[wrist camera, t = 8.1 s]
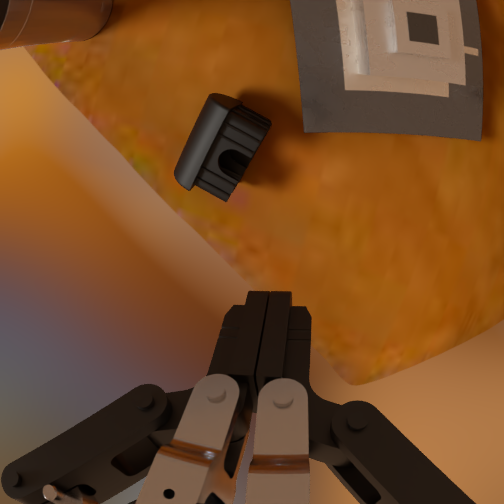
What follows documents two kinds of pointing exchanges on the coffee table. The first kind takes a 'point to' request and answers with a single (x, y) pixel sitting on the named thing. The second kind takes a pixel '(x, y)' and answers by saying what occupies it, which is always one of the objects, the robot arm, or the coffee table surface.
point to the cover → (410, 39)
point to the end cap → (220, 146)
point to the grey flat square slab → (380, 81)
